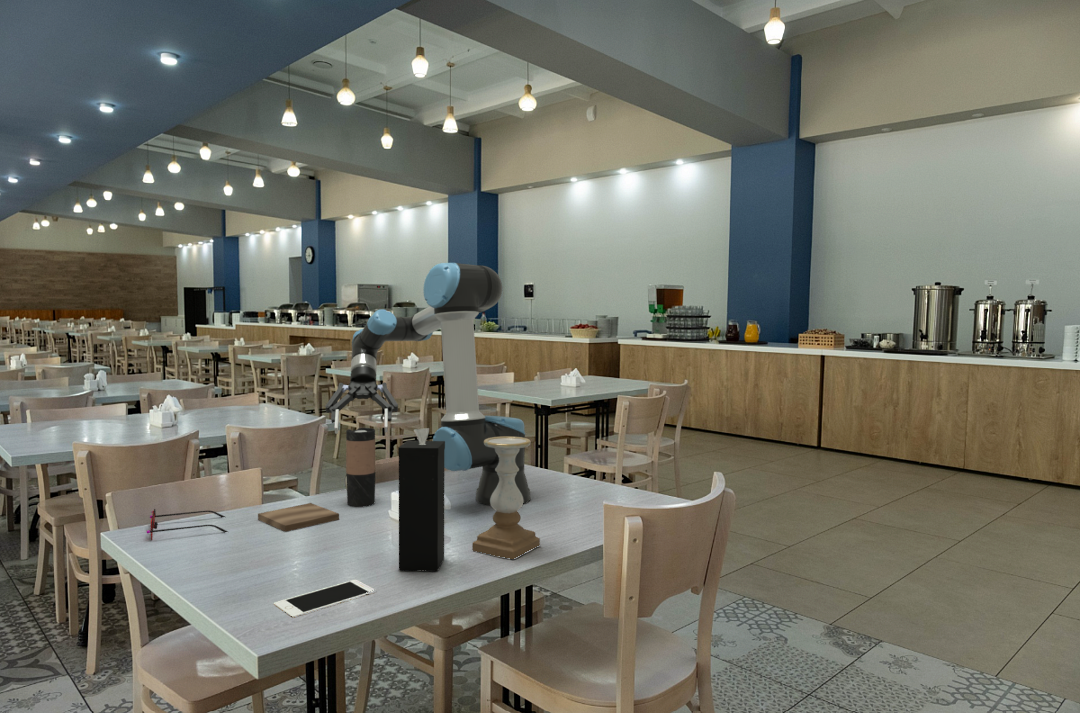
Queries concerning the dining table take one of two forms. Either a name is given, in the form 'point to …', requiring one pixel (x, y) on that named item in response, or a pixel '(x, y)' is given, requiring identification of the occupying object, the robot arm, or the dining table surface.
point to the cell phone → (323, 597)
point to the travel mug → (360, 467)
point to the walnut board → (298, 517)
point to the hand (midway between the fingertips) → (361, 430)
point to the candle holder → (506, 505)
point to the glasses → (154, 525)
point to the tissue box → (421, 503)
